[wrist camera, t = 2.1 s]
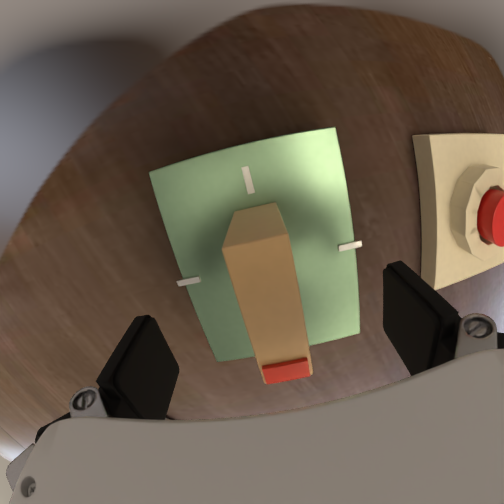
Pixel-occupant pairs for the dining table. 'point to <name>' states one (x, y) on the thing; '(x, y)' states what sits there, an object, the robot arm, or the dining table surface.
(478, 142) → the button block
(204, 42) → the dining table surface
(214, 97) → the dining table surface
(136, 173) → the dining table surface
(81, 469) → the robot arm
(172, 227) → the panel
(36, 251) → the dining table surface
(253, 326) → the wooden block
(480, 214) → the red button
